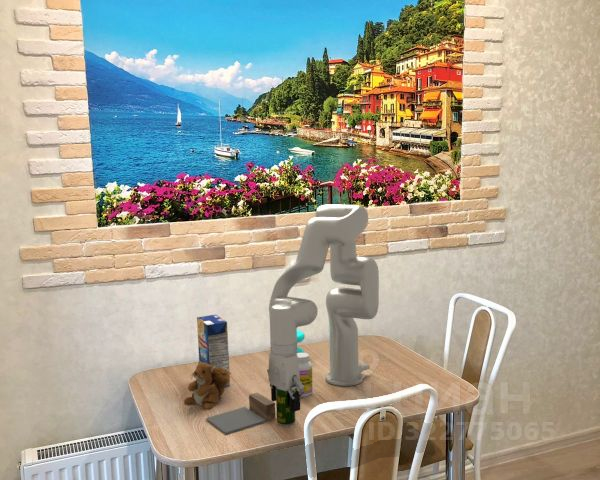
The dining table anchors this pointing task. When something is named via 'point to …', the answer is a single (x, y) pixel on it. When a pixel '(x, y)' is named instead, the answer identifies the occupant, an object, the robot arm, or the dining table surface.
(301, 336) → the donuts
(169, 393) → the dining table surface
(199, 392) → the stuffed squirrel
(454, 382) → the dining table surface
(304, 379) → the supplement bottle
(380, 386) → the dining table surface
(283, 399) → the beer can
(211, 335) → the beverage box
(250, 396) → the walnut ledge
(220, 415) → the rubber mat
